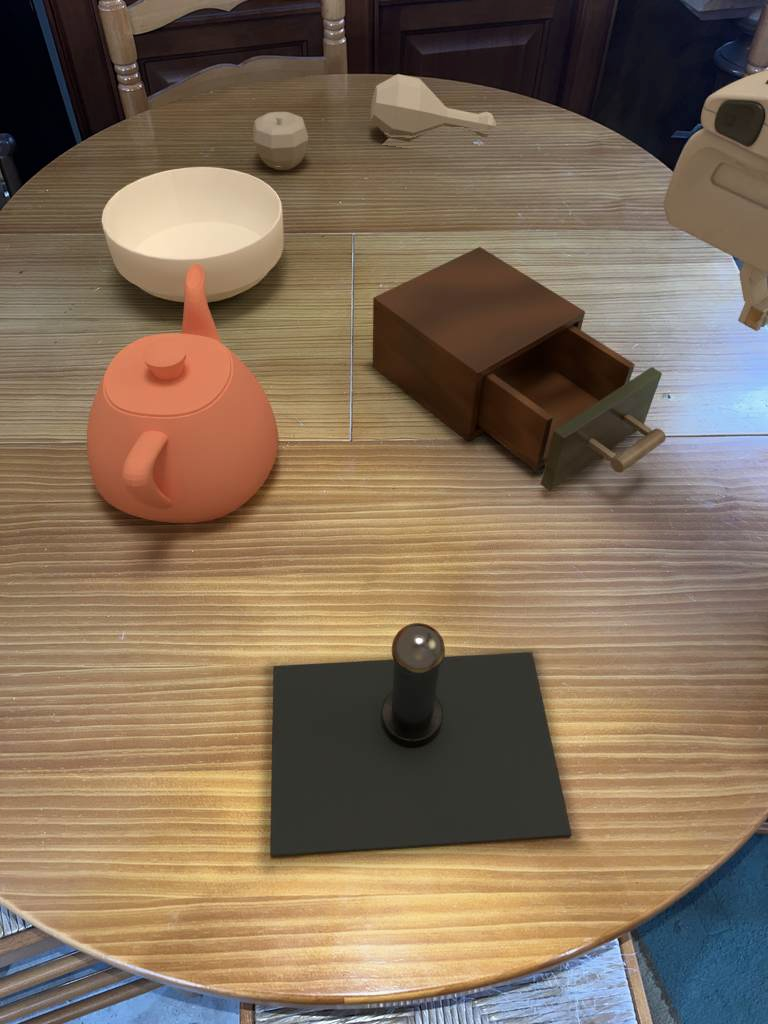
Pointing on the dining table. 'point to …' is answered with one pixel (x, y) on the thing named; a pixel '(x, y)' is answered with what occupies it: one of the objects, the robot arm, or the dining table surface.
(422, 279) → the cabinet
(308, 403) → the dining table surface
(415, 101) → the chicken leg
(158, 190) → the bowl
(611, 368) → the drawer
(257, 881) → the dining table surface
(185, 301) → the teapot
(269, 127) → the apple
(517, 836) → the mat
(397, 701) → the domed metal post
